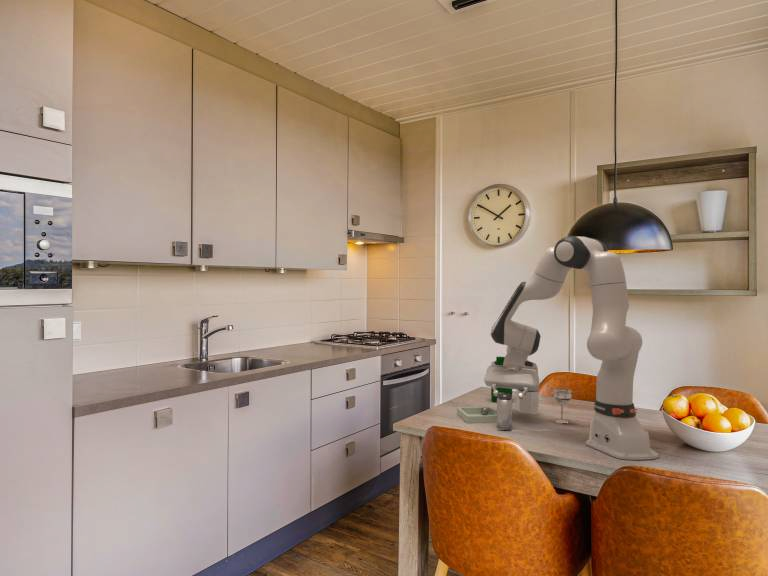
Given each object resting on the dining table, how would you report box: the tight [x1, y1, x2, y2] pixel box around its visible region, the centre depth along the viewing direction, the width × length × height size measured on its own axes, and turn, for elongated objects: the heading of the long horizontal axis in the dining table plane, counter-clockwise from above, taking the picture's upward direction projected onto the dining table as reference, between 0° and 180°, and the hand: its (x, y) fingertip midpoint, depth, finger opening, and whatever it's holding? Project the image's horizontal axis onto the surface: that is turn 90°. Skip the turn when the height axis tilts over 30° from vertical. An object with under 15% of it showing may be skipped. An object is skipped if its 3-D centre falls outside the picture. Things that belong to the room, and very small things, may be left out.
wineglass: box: [552, 388, 573, 424], centre depth 199 cm, size 7×7×12 cm
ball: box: [481, 406, 489, 415], centre depth 204 cm, size 3×3×3 cm
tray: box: [456, 406, 497, 424], centre depth 200 cm, size 14×14×3 cm
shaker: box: [496, 393, 513, 432], centre depth 188 cm, size 5×5×12 cm
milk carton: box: [490, 356, 513, 403], centre depth 232 cm, size 9×9×20 cm
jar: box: [515, 389, 540, 416], centre depth 212 cm, size 9×8×12 cm
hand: (508, 396), depth 193 cm, fingers open, 8 cm apart
